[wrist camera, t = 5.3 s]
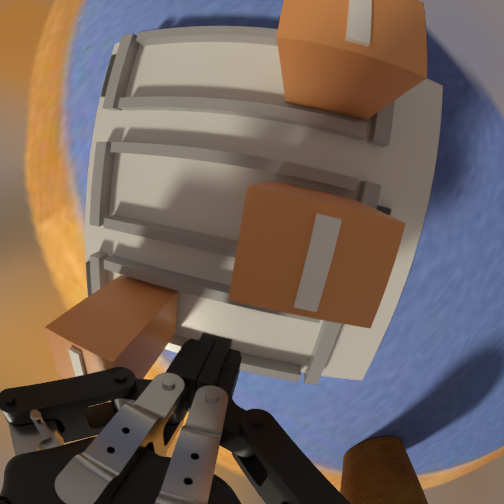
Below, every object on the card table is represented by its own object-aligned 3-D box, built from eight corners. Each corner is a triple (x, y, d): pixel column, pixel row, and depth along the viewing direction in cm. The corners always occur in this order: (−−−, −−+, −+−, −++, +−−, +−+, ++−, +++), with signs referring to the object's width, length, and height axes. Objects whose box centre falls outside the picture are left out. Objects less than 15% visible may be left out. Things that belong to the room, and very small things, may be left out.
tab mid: (350, 198, 13) (408, 224, 6) (336, 255, 14) (372, 332, 7) (271, 180, 13) (245, 186, 6) (259, 239, 14) (226, 303, 7)
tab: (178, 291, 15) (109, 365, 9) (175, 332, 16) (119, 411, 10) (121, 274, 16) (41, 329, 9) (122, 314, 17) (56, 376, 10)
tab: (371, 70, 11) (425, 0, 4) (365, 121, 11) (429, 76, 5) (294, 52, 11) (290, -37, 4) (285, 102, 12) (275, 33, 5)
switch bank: (431, 91, 12) (450, 81, 9) (358, 366, 17) (364, 390, 15) (126, 50, 13) (106, 38, 11) (100, 302, 19) (81, 316, 17)
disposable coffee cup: (309, 455, 21) (303, 557, 10) (396, 412, 18) (423, 527, 7) (355, 478, 22) (358, 559, 11) (427, 443, 19) (449, 527, 8)
